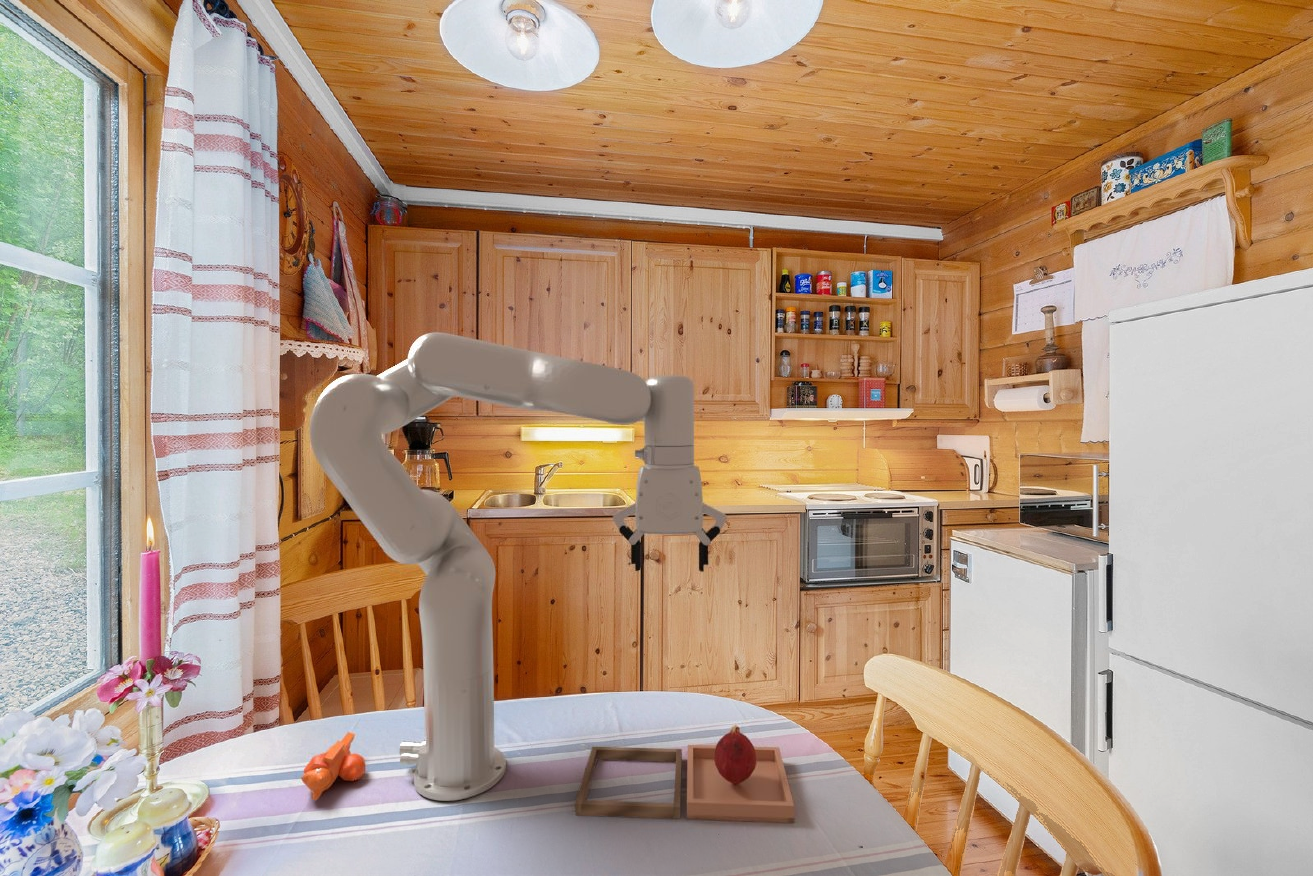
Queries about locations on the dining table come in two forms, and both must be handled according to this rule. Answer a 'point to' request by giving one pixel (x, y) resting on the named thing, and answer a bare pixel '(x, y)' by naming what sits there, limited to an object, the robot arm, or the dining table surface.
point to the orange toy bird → (333, 766)
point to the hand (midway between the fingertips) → (669, 569)
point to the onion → (735, 756)
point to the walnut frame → (621, 806)
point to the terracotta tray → (738, 789)
